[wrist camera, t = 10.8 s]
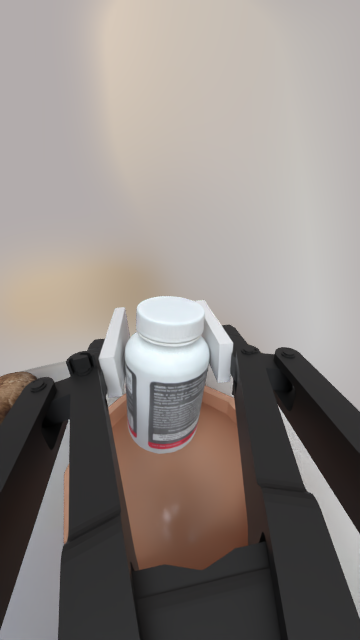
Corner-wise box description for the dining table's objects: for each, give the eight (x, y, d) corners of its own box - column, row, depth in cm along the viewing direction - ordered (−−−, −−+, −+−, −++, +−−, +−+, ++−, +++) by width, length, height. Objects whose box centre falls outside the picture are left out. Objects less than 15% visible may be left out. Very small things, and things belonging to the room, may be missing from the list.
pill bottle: (205, 408, 18) (226, 302, 14) (181, 471, 14) (202, 342, 9) (149, 387, 20) (152, 286, 15) (112, 436, 15) (101, 313, 11)
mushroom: (73, 382, 24) (16, 354, 21) (26, 467, 19) (-58, 447, 16) (44, 388, 28) (-6, 365, 25) (0, 457, 24) (-69, 440, 20)
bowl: (32, 498, 17) (20, 482, 16) (159, 378, 29) (158, 364, 27) (215, 758, 9) (218, 762, 8) (289, 441, 20) (295, 425, 19)
